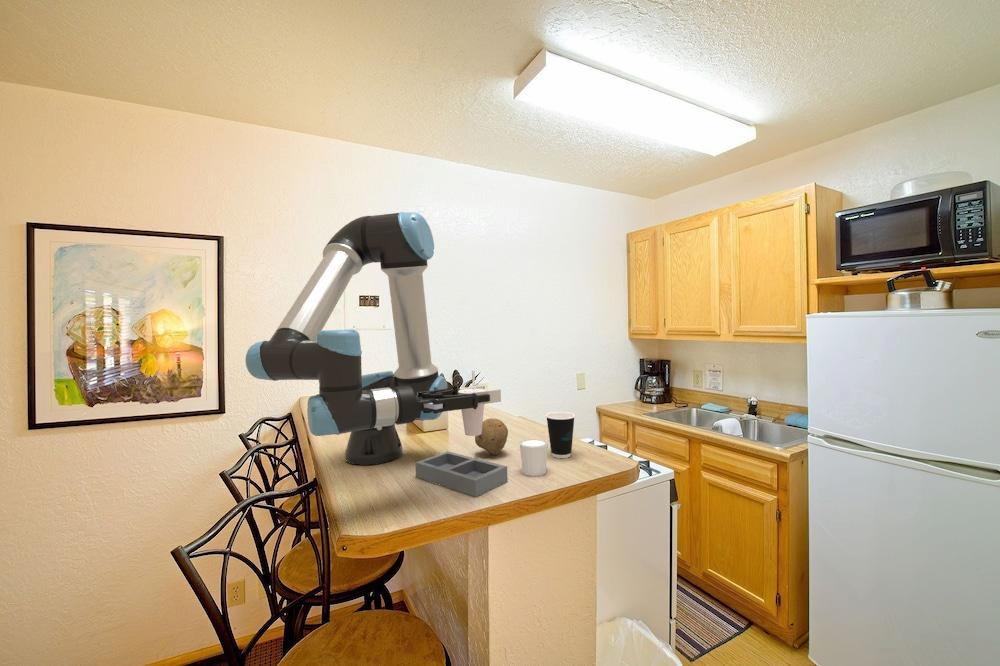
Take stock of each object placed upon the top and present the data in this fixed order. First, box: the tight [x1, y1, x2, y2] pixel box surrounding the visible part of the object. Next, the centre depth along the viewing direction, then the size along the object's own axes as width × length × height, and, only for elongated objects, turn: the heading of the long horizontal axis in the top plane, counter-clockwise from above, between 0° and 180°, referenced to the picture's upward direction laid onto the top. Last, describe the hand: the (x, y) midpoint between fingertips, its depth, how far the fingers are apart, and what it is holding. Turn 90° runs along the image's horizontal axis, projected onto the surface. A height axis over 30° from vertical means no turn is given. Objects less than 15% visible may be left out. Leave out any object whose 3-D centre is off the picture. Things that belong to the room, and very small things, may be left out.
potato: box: [474, 417, 509, 456], centre depth 113 cm, size 9×9×10 cm
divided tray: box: [414, 451, 508, 498], centre depth 95 cm, size 20×10×4 cm, turn 50°
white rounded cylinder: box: [519, 439, 549, 477], centre depth 99 cm, size 7×7×7 cm
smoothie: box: [458, 370, 487, 437], centre depth 92 cm, size 6×6×14 cm
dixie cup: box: [545, 411, 576, 459], centre depth 110 cm, size 8×8×11 cm
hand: (491, 393), depth 95 cm, fingers closed on smoothie, 6 cm apart
